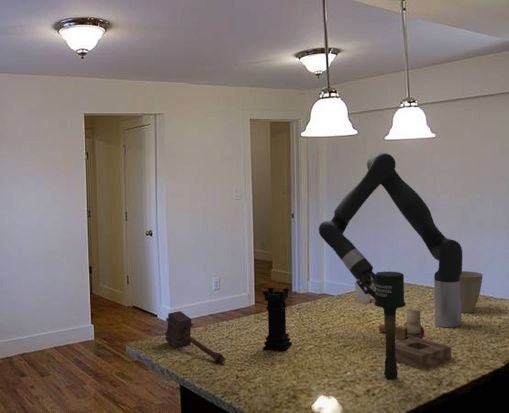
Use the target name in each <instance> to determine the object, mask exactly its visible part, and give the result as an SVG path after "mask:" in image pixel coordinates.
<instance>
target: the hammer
mask: <svg viewBox="0 0 509 413" xmlns="http://www.w3.org/2000/svg"><path fill="white" fill-rule="evenodd" d="M165 322H167V330H166V331H164V335H165V340H166V342H167V343H169V344H170V345H171V346H172V347H173V348H174V349H178V348H182V347H186V346H191V345H192V344H193V345H194V346H195V347H197V348H198V349H200V350H201V351H202V352H204V353H205V354H207V355H208V356H210V357H211V358H212V359H213V360H214V361H215V362H216V363H217V364H220V363H221V364H225V363H226V357H224V354H222V353H221V352H215V351H213V350H211V349H210V348H208V347H207V346H205V345H204V344H202V343H201V342H199V341H198V340H196V339H195V338H194V337H192V336H191V329H192V328H191V327H193V325H194V324H193V323H192V318H191V317H189V316H188V315H186V314H185V313H184V312H183V311H181V310H180V311H179V310H178V311H174V312H170V313H167V317H166V318H165Z"/></svg>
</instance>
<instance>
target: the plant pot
mask: <svg viewBox="0 0 509 413" xmlns="http://www.w3.org/2000/svg"><path fill="white" fill-rule="evenodd" d="M482 282H483V273H480V272H477V271H476V272H475V271H467V270H466V271H465V270H464V271H463V270H462V273H461V275H460V299H461V314H470V313H473V312H474V311H475V308H476V306H477V304H478V300H479V297H480V294H481V288H482Z"/></svg>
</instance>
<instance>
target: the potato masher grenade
mask: <svg viewBox="0 0 509 413" xmlns="http://www.w3.org/2000/svg"><path fill="white" fill-rule="evenodd" d="M377 272H378V273H377ZM377 272H376V273H374V274H375V287H374V288H375V292H376V301H374V306H375V307H378V308H382V309H383V315H384V318H383V319H384V320H383V321H384V325H385V332H384V333H385V360H384V372H383V373H384V377H385V378H386V379H389V380H395V379H397V378H398V374H399V372H398V368H397V367H398V366H397V364H398V363H397V361H396V358H395V342H396V336H395V327H397V321H396V320H397V319H396V318H397V317H396V316H397V314H396V313H397V310H398V309H399V308H404V307H405V306H406V302H405V282H404V277H405V275H404V273H401V272H398V271H377Z"/></svg>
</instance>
